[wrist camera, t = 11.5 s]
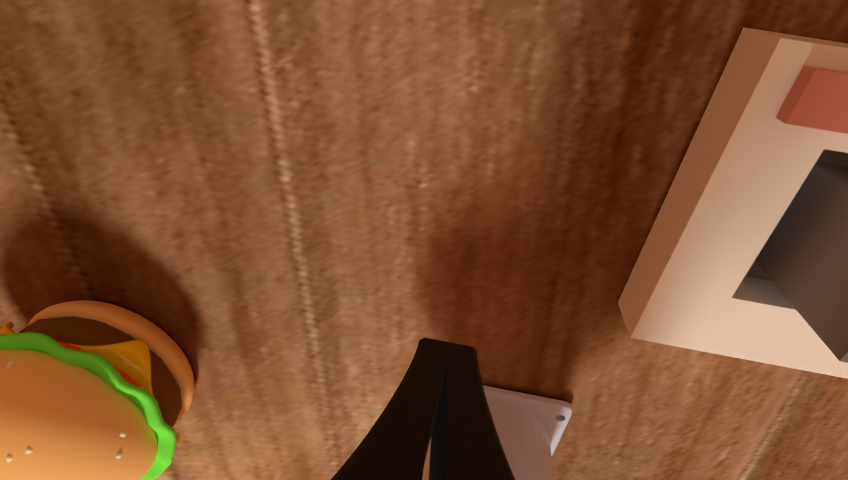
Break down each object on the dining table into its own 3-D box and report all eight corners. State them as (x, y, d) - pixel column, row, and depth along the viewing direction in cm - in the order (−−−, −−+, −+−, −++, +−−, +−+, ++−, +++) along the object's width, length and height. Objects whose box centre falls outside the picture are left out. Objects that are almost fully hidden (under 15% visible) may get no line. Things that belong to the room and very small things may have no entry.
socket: (879, 350, 21) (931, 403, 19) (617, 302, 22) (633, 347, 19) (1121, 85, 15) (1249, 112, 12) (743, 27, 15) (791, 41, 13)
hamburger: (230, 431, 32) (151, 573, 24) (68, 405, 33) (-55, 534, 25) (195, 293, 25) (73, 429, 18) (-5, 265, 26) (-197, 383, 19)
